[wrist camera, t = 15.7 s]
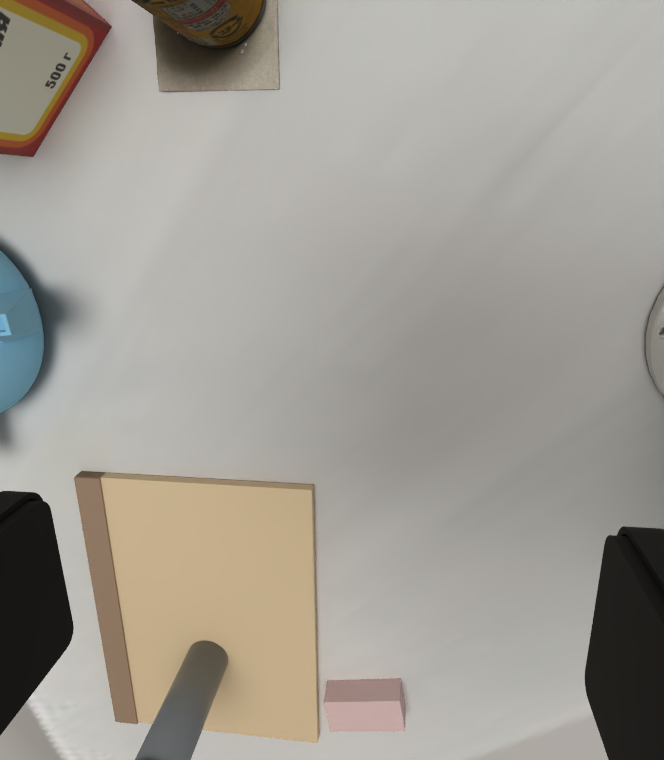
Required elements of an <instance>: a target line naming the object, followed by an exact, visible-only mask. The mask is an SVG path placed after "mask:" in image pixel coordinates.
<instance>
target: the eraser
mask: <svg viewBox="0 0 664 760" xmlns="http://www.w3.org/2000/svg"><path fill="white" fill-rule="evenodd" d="M324 706H325V710H326V715H327V719H328V724H329V728H330V732H339V731H405V702H404V696H403V690H402V684H401V679H400V678H396V679H361V680H328V681H327V687H326V692H325V698H324Z"/></svg>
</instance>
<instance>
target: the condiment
mask: <svg viewBox="0 0 664 760" xmlns="http://www.w3.org/2000/svg"><path fill="white" fill-rule="evenodd" d="M132 1H133V2H135V3H136V4H138V5H139V6H141V7H142V8H144V9H145V10H147V11H148V12H149V13H151V14H152V15H153V24H154V32H155V45H156V55H157V75H158V84H159V91H214V90H258V89H279V59H278V20H277V0H132ZM177 32H178V34H177ZM245 43H247V46H246V47H245V46H244V44H245ZM242 49H243V50H244V52H243V53H242V54H240V52H241V50H242Z"/></svg>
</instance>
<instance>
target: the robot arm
mask: <svg viewBox="0 0 664 760" xmlns="http://www.w3.org/2000/svg"><path fill="white" fill-rule="evenodd" d="M663 327H664V288H663V290H662V291H661V293H660V294H659V296H658V298H657V300H656V303H655V305H654V307H653V310H652V312H651V314H650V318H649V323H648V327H647V332H646V357H647V362H648V367H649V371H650V373H651V376H652V378H653V380H654V382H655V384H656V386H657V388H658V389H659V391H660V392H661V393H662V395H663V396H664V332H663V333H661V334H659V332H660V330H661V329H662V328H663ZM72 635H73V621H72V615H71V610H70V605H69V600H68V595H67V590H66V585H65V580H64V575H63V570H62V565H61V559H60V554H59V549H58V544H57V539H56V534H55V529H54V524H53V519H52V514H51V509H50V506H49V505H48V504H47V503H46V502H44V501H43V499H42V498H41V496H40V495H39V494H37V493H33V492H16V491H2V492H0V735H1V734H2V732H3V731H4V730H5V728H6V727H7V726H8V725H9V723H10V722H11V721H12V719H13V718H14V717H15V715H16V714H17V713H18V712H19V710H20V709H21V708H22V706H23V705H24V704H25V702H26V701H27V700H28V698H29V697H30V696H31V695H32V693H33V692H34V691H35V689H36V688H37V687H38V685H39V684H40V683H41V681H42V680H43V679H44V678H45V676H46V675H47V674H48V672H49V671H50V670H51V668H52V667H53V666H54V664H55V663H56V662H57V661H58V659H59V658H60V657H61V655H62V654H63V653H64V651H65V650H66V649H67V647H68V645H69V644H70V641H71V639H72ZM585 686H586V693H587V697H588V700H589V703H590V706H591V709H592V712H593V715H594V718H595V721H596V724H597V727H598V730H599V732H600V736H601V738H602V741H603V744H604V747H605V750H606V753H607V756H608V759H609V760H664V530H663V529H656V528H639V527H622V528H620V530H619V532H618V534H617V536H613V535H609V536H608V537H607V538H606V541H605V545H604V552H603V558H602V565H601V571H600V578H599V584H598V591H597V598H596V604H595V611H594V617H593V624H592V630H591V637H590V643H589V650H588V656H587V663H586V669H585Z"/></svg>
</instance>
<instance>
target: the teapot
mask: <svg viewBox="0 0 664 760" xmlns="http://www.w3.org/2000/svg"><path fill="white" fill-rule="evenodd" d="M43 350H44V334H43V327H42V320H41V316H40V313H39V309H38V306H37V303H36V301H35V298H34V296H33V292H32V288H29V286H28V284H27V282H26V281H25V279H24V278H23V276H22V275H21V273H20V272H19V270H18V269H17V268H16V267H15V265H14V264H13V263H12V262H11V261H10V259H9V258H8V257H7V256H6V255H5V254H4V253H3V252H2V251H1V250H0V413H1V412H3V411H5V410H7V409H9V408H11V407H12V406H14V405H15V404H16V403H17V402H19V401H20V400H21V399H22V398H23V397H24V395H25V394H26V393H27V392H28V390H29V389H30V387H31V386H32V384H33V383H34V381H35V379H36V377H37V375H38V372H39V370H40V366H41V363H42V358H43Z"/></svg>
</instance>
